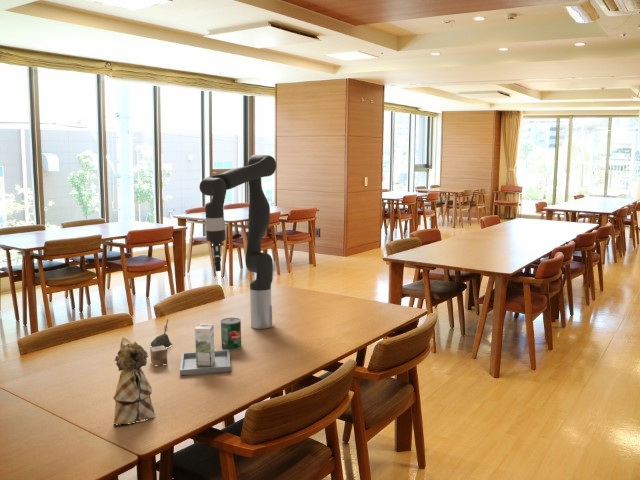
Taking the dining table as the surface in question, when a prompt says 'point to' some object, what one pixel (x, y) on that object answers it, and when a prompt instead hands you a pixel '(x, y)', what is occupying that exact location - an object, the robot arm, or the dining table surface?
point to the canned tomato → (231, 333)
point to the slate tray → (218, 366)
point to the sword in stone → (161, 340)
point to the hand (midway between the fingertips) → (217, 268)
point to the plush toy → (132, 385)
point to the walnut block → (158, 355)
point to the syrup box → (204, 344)
